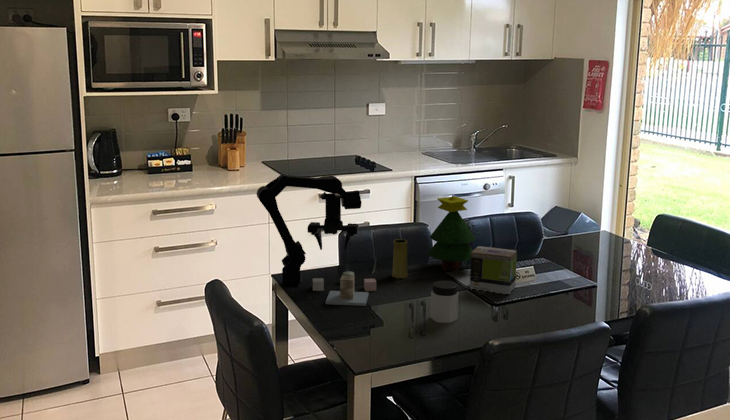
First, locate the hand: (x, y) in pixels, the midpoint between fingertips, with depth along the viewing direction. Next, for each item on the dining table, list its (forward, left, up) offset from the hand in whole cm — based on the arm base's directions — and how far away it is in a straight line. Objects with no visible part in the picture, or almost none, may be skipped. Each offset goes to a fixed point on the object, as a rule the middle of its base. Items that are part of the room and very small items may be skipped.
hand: (333, 250), depth 279 cm
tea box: (+60, -2, -12) cm, 61 cm away
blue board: (+8, -20, -12) cm, 25 cm away
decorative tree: (+45, +20, -12) cm, 51 cm away
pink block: (+15, -8, -12) cm, 21 cm away
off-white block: (-4, -10, -12) cm, 16 cm away
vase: (+25, +8, -12) cm, 29 cm away
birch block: (+8, -20, -11) cm, 24 cm away
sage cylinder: (+6, -1, -12) cm, 14 cm away
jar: (+42, -34, -12) cm, 55 cm away
